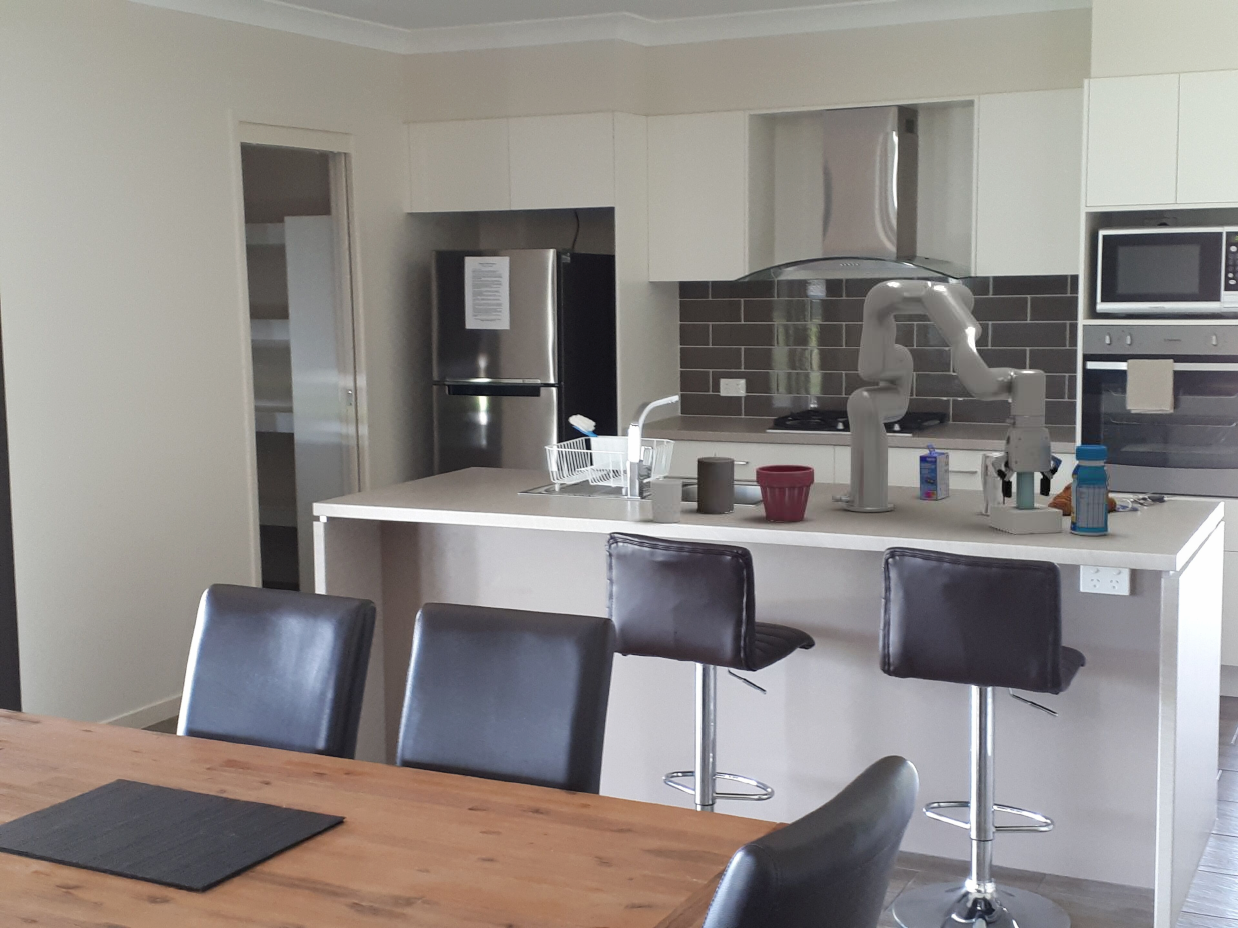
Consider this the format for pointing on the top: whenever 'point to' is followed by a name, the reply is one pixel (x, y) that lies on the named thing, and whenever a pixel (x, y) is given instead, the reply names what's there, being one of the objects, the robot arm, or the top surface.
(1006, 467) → the robot arm
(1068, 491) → the pastry
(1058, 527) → the socket block
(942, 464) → the ink cartridge box
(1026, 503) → the peg
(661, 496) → the white cup
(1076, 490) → the beverage bottle
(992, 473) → the beer glass
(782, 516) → the plant pot
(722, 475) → the pillar candle
